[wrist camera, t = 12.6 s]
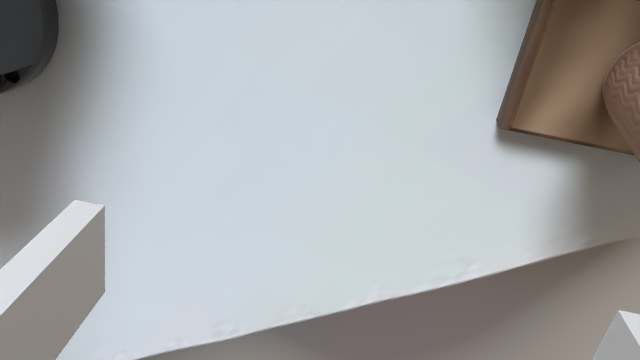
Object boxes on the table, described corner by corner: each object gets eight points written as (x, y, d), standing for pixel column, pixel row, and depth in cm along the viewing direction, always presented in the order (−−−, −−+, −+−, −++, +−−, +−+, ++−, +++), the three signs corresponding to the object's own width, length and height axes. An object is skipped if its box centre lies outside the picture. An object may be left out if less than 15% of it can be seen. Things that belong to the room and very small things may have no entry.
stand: (496, 119, 47) (503, 132, 45) (545, -27, 42) (557, -23, 39) (658, 151, 47) (674, 166, 44) (728, 8, 42) (752, 15, 39)
